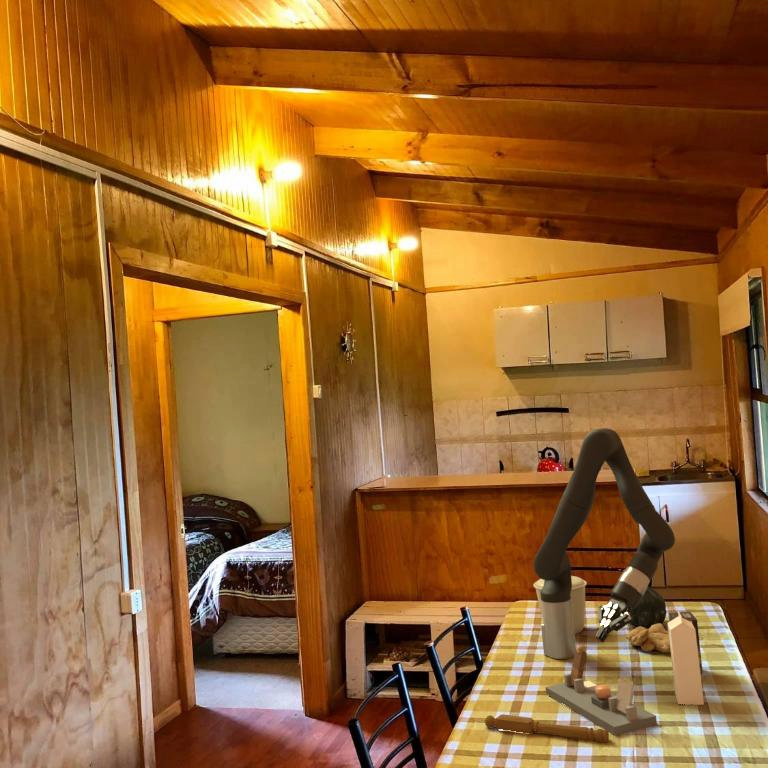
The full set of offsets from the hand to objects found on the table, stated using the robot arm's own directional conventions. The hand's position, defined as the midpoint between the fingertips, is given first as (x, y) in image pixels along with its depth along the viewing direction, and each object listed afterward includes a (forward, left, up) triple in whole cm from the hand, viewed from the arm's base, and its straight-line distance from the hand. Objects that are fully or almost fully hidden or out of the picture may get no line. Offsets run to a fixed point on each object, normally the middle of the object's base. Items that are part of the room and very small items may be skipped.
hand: (599, 640), depth 200 cm
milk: (+22, +2, -13) cm, 26 cm away
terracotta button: (+7, -14, -9) cm, 18 cm away
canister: (-33, +42, -13) cm, 55 cm away
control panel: (+4, -13, -13) cm, 19 cm away
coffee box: (+16, +20, -13) cm, 29 cm away
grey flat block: (+13, -18, -11) cm, 25 cm away
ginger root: (-1, +37, -13) cm, 40 cm away
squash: (-11, +59, -13) cm, 62 cm away
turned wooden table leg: (-1, -32, -14) cm, 35 cm away
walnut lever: (-5, -8, -11) cm, 14 cm away
